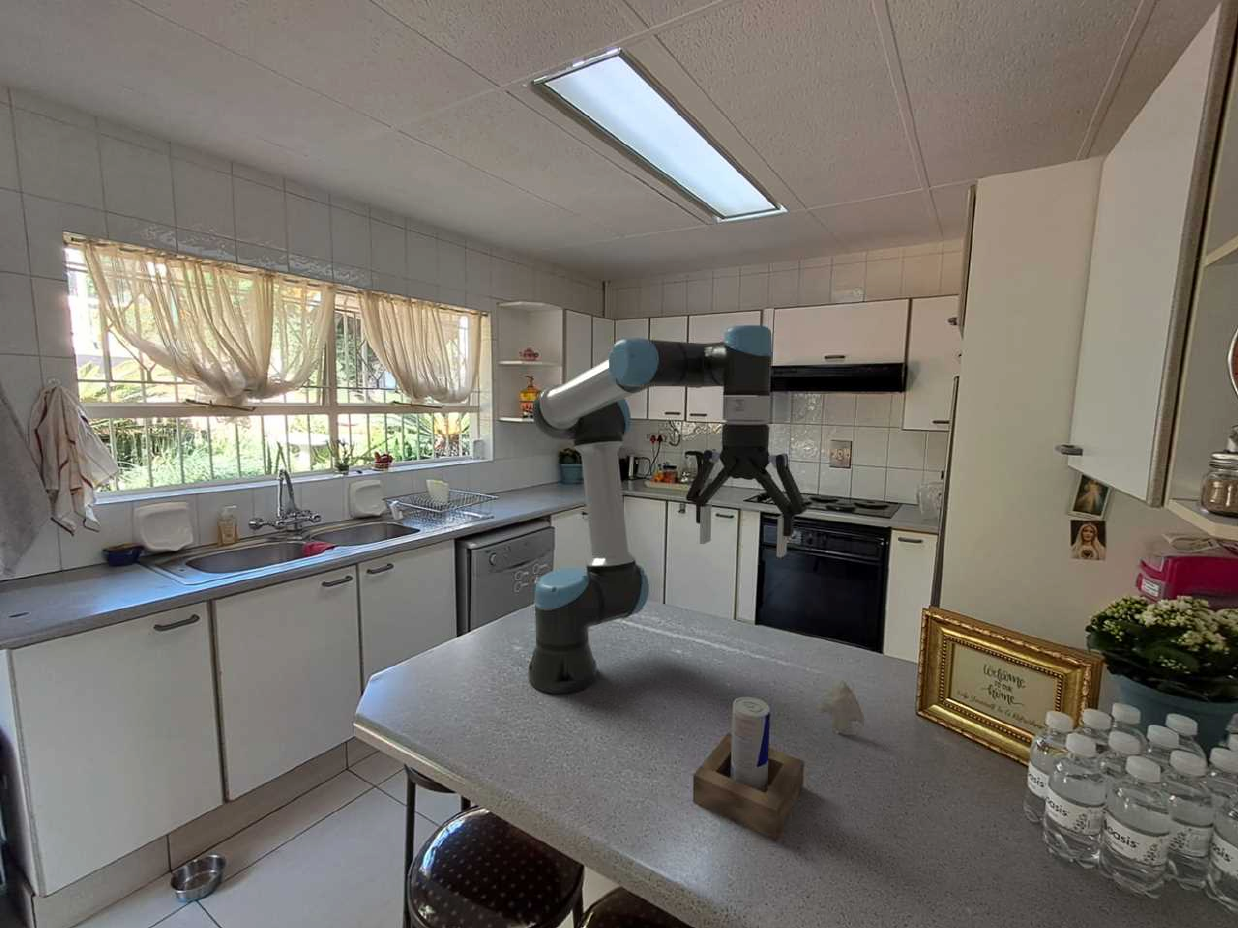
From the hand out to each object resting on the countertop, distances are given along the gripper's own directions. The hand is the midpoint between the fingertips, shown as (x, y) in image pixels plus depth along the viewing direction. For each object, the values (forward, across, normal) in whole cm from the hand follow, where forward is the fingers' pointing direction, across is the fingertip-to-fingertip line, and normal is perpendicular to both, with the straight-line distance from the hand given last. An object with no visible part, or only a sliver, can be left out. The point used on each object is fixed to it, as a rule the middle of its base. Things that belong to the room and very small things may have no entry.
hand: (741, 548), depth 93 cm
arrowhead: (+37, +14, +16) cm, 43 cm away
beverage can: (+37, +6, -9) cm, 39 cm away
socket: (+37, +6, -9) cm, 38 cm away
